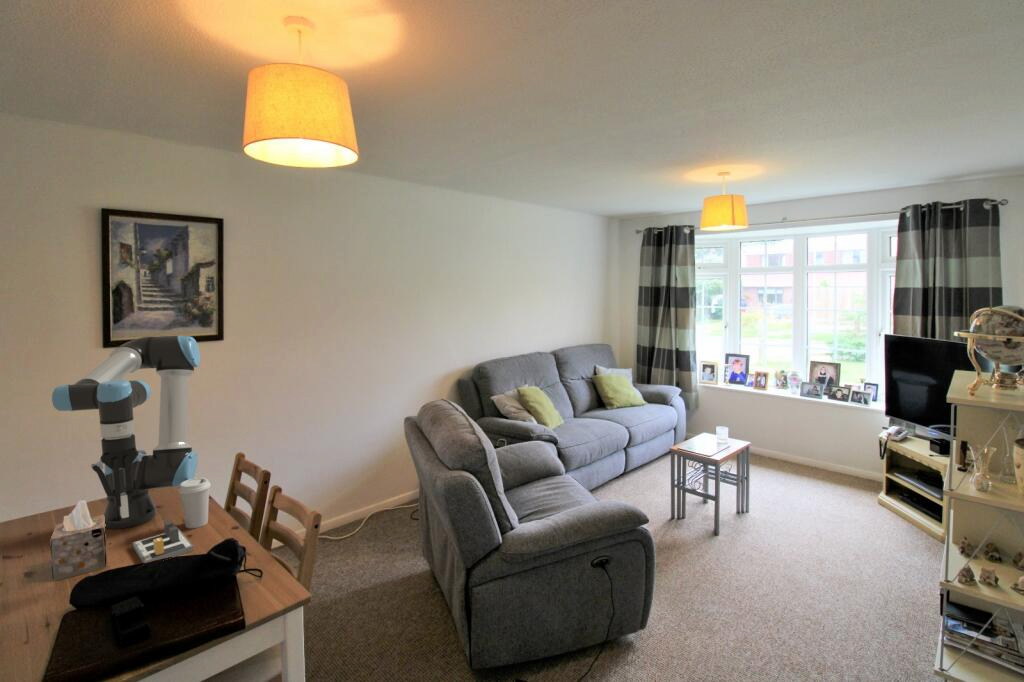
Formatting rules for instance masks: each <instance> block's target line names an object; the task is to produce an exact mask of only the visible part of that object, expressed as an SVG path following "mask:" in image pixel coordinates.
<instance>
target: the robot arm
mask: <svg viewBox="0 0 1024 682" xmlns="http://www.w3.org/2000/svg"><path fill="white" fill-rule="evenodd" d="M200 363H201V352H200V348H199V345H198V342H197V341H196V339H195V338H194V337H193V336H188V335H167V336H166V335H163V336H160V335H159V336H143V337H138V338H135V339H133V340H130V341H127V342H125V343H123V344H121V345H120V346H118V347H116V348H115V349H114V350H112V351H111V352H110V354H109V357H108V358H107V359H105V360H104V361H102V363H100V364H99V365H97V366H96V367H94V369H92V370H91V371H90V372H89V373H86V375H84V376H83V377H81V378H80V379H79V380H78V381H76V382H75V383H73V384H68V383H67V384H64V385H63V384H62V385H58V386H56V387H54V390H53V392H52V393H51V403H52V406H53V407H54V408H55V410H56V411H57V410H58V411H60V412H66V411H67V412H75V411H78V412H79V411H88V410H89V411H91V410H98V416H99V429H100V437H101V440H100V441H101V451H102V453H101V456H100V459H99V460H98V461H97V462H95V463H92V464H91V465H90V467H91V469H92V470H93V471H94V473H96V475H97V476H98V478H99V481H100V482H101V483H100V484H101V485H102V488H103V490H104V492H105V494H106V499H107V501H106V506H105V509H104V511H103V515H104V516H105V524H106V528H105V529H110V530H111V529H112V530H116V529H117V530H118V529H126V528H130V527H134V526H137V525H141V524H143V523H145V522H148V521H150V520H152V519H153V518H154V517H156V515H157V505H155V503H154V500H153V499H152V497H151V495H150V491H149V490H151V489H152V490H153V489H163V488H165V489H166V488H177V487H179V486H180V484H181V483H182V482H184V481H186V480H189V479H193V478H195V475H196V473H197V469H198V463H199V458H198V453H197V452H196V451H193V450H192V449H193V446H192V445H190V444H189V443H188V424H189V394H190V393H189V392H190V391H189V387H190V376H191V375H193V374H194V373H195V368H198V367H199V366H200ZM144 369H147V370H148V369H155V372H156V374H157V375H158V376H160V395H159V418H158V419H159V420H158V422H159V423H158V444H157V445H156V446H155V447H154V448H153V449H152V454H149V455H148V454H147V452H146V451H145V450H143V449H142V450H141V449H139V450H137V445H136V435H135V423H134V410H133V409H134V408H136V407H138V406H141V405H143V404H144V403H145V402H147V401H148V399H150V396H151V394H152V393H151V391H152V390H151V387H150V386H149V384H148V383H146V382H145V381H144V380H140V379H134V380H125V379H124V378H125V377H126V376H128V375H129V374H132V373H134V372H136V371H138V370H144ZM103 465H104V466H103ZM103 469H104V471H103Z"/></svg>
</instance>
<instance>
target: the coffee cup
mask: <svg viewBox="0 0 1024 682" xmlns="http://www.w3.org/2000/svg"><path fill="white" fill-rule="evenodd" d="M211 485H212V484H211V483H210V481H209V479H208V478H207V477H194V478H193V479H189V480H186V481H184V482H182V483H181V484H180V486H178V488H177V493H179V495H180V502H181V508H182V511H183V518H184V524H185V528H187V529H198V528H202V527H203V526H206V525H207V524H208V522H209V501H210V500H209V499H210V487H211Z"/></svg>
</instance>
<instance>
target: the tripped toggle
mask: <svg viewBox="0 0 1024 682" xmlns="http://www.w3.org/2000/svg"><path fill="white" fill-rule="evenodd" d="M153 543H154V553H155V554H156V555H159V554H162V553H164V543H163V539H162V538H161V537H160V538H157V539H154V540H153Z"/></svg>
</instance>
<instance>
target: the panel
mask: <svg viewBox="0 0 1024 682" xmlns="http://www.w3.org/2000/svg"><path fill="white" fill-rule="evenodd" d="M163 523H164V533H160V534H157V535H153V536H150V537H145V538H143V539H140V540H137V541H136V540H135V541H133V542H132V547H133V550H134V551H135V553H136V554H137V556H138V557H139V559H140V561H141V563H142V564H143V563H147V562H151V561H154V560H158V559H162V558H168V557H172V558H175V557H178V556H180V555H184V554H187V553H190V552H193V551H194V545H193V544H192V543H191V541H190V540H189V538H188V537H186V535H185V534H184V533H183V532H182V531H181V530H180V528H178V527H177V526H176V525H175V526H174V522H173V521H172V520H169V521H165V522H163ZM160 537H161V538H162V539H163V543H164V553H162V554H159V555H156V554H155V553H154V543H153V540H154V539H157V538H160Z"/></svg>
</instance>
